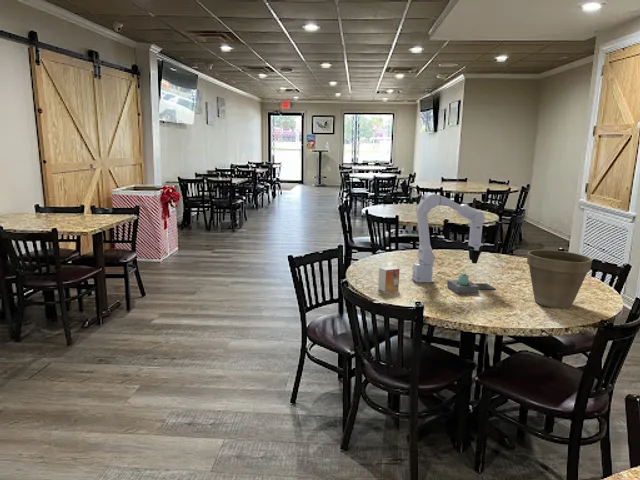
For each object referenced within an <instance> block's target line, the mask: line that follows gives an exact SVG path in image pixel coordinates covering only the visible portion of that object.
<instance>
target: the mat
mask: <svg viewBox="0 0 640 480" xmlns="http://www.w3.org/2000/svg"><path fill="white" fill-rule="evenodd" d="M475 284H476V285H477V286H479V291H495V290H496V287H494V286H492V285H491V284H489V283H487V282H486V283H475Z"/></svg>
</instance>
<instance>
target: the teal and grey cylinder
mask: <svg viewBox="0 0 640 480" xmlns="http://www.w3.org/2000/svg"><path fill="white" fill-rule="evenodd" d="M469 276H470V275H469V274H467V273H459V274H458V279H457V280H458V284H461V285H468V280H469V278H470V277H469Z"/></svg>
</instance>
